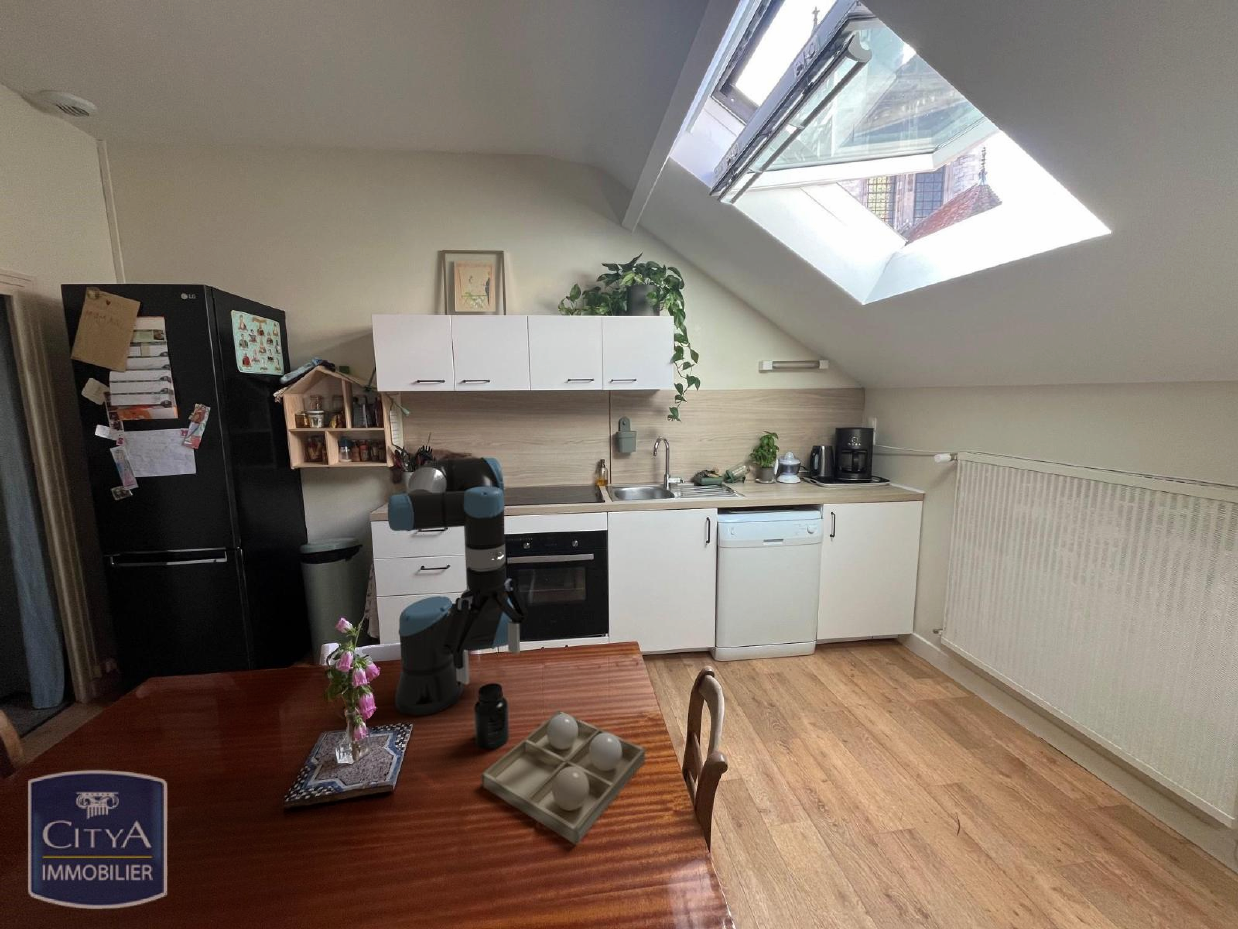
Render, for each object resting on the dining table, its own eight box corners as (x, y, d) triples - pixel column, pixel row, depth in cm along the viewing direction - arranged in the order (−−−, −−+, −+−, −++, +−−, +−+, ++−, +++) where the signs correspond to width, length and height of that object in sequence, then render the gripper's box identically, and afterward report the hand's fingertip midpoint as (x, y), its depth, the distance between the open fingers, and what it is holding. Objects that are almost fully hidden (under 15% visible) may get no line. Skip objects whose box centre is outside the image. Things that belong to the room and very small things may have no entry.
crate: (482, 791, 89) (481, 773, 89) (559, 725, 107) (559, 710, 107) (576, 850, 78) (576, 831, 77) (645, 765, 96) (645, 749, 95)
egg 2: (544, 809, 84) (544, 775, 83) (568, 785, 90) (567, 753, 89) (573, 827, 81) (573, 791, 80) (596, 800, 86) (596, 767, 85)
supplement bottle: (513, 733, 105) (512, 681, 103) (503, 755, 98) (501, 700, 97) (482, 730, 106) (480, 679, 104) (470, 753, 99) (467, 698, 97)
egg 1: (540, 749, 99) (539, 719, 98) (560, 731, 104) (560, 703, 103) (564, 761, 95) (564, 731, 94) (584, 742, 101) (584, 714, 100)
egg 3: (582, 770, 93) (581, 739, 92) (601, 750, 98) (601, 721, 97) (609, 785, 90) (609, 753, 89) (628, 763, 95) (628, 733, 94)
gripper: (445, 589, 85) (451, 703, 87) (542, 552, 105) (544, 645, 108) (419, 580, 89) (425, 690, 91) (517, 546, 109) (520, 636, 112)
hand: (490, 666), depth 100 cm, fingers open, 13 cm apart
